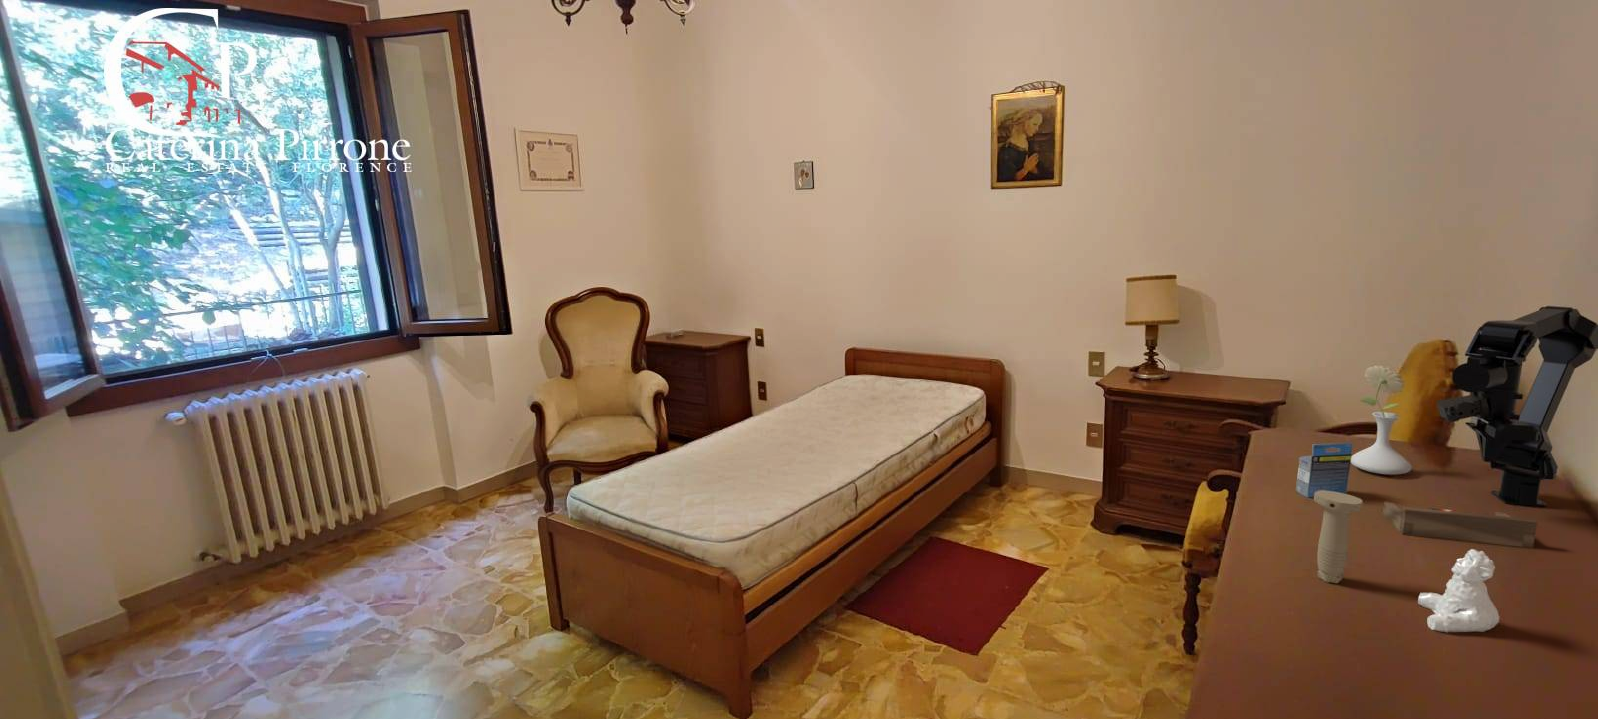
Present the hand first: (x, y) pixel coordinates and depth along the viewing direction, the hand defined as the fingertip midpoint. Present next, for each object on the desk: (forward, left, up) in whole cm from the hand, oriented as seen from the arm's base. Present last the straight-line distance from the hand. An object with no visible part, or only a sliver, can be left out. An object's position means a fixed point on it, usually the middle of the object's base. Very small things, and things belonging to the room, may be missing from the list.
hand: (1486, 461), depth 141 cm
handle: (+40, -35, -11) cm, 54 cm away
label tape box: (-3, -26, -11) cm, 29 cm away
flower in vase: (-24, -10, -11) cm, 28 cm away
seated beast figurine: (+49, -21, -11) cm, 54 cm away
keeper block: (+10, -8, -11) cm, 17 cm away
